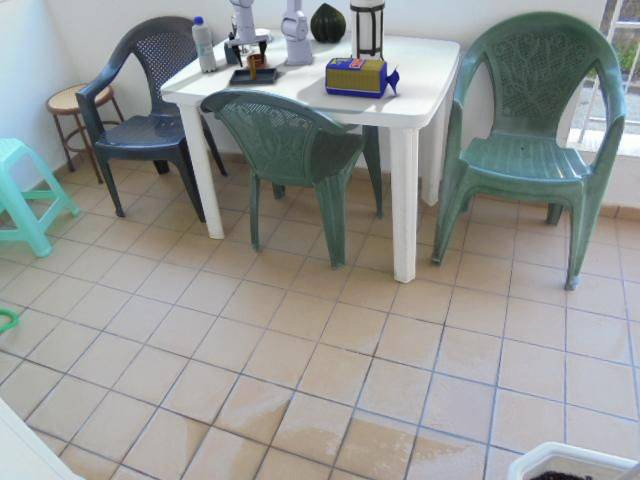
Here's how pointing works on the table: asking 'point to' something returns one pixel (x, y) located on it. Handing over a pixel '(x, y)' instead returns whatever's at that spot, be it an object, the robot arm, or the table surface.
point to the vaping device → (230, 51)
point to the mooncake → (262, 33)
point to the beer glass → (244, 48)
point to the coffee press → (367, 29)
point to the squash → (327, 24)
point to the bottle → (204, 45)
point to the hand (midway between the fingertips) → (252, 64)
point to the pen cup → (258, 61)
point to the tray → (245, 78)
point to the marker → (252, 67)
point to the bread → (359, 77)
